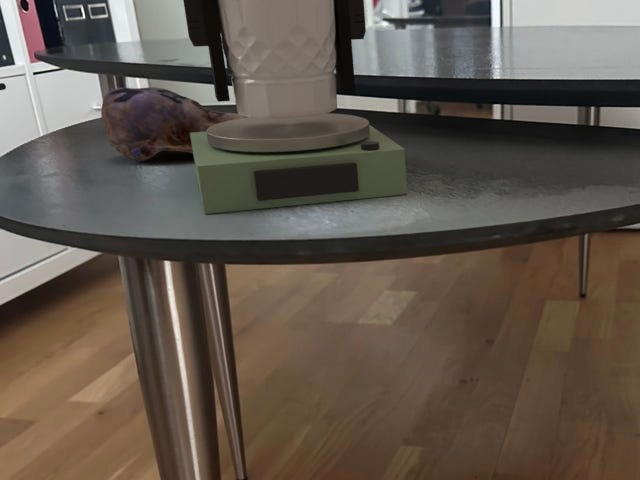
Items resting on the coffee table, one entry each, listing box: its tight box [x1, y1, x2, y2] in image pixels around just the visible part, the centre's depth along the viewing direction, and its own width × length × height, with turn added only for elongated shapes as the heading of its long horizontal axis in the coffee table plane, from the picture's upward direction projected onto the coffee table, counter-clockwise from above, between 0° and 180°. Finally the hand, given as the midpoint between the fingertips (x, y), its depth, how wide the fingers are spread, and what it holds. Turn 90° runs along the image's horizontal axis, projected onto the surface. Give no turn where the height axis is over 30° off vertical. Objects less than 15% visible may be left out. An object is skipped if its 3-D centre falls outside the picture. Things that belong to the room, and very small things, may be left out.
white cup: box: [216, 0, 338, 118], centre depth 56 cm, size 8×8×10 cm
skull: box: [100, 86, 247, 162], centre depth 69 cm, size 12×8×6 cm, turn 88°
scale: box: [190, 124, 408, 215], centre depth 59 cm, size 13×13×3 cm
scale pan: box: [206, 112, 370, 152], centre depth 59 cm, size 11×11×1 cm
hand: (285, 94), depth 58 cm, fingers closed on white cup, 8 cm apart
